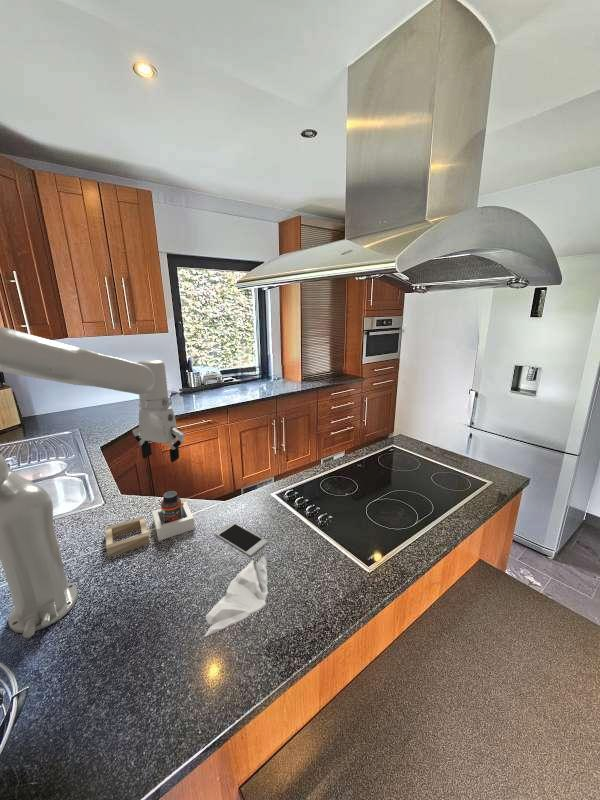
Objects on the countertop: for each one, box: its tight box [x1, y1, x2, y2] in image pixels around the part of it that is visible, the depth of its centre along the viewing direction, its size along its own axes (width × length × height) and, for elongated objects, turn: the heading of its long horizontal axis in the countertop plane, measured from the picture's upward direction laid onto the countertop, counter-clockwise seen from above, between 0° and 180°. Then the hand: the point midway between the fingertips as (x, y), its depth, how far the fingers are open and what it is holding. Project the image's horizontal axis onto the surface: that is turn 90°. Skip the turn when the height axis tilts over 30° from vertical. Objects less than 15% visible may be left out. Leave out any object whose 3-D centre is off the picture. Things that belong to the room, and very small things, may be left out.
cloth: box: [203, 554, 269, 638], centre depth 78 cm, size 26×14×2 cm, turn 144°
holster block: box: [105, 515, 151, 558], centre depth 96 cm, size 11×11×3 cm
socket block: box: [151, 500, 196, 542], centre depth 103 cm, size 11×11×5 cm
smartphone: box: [214, 522, 268, 557], centre depth 97 cm, size 7×15×1 cm, turn 53°
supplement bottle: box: [160, 490, 184, 525], centre depth 102 cm, size 6×6×11 cm
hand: (161, 458), depth 97 cm, fingers open, 9 cm apart
